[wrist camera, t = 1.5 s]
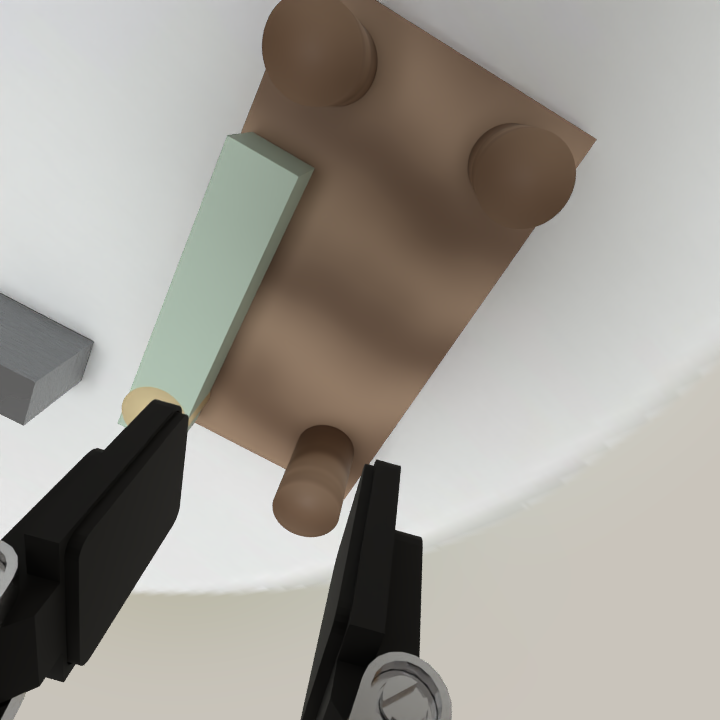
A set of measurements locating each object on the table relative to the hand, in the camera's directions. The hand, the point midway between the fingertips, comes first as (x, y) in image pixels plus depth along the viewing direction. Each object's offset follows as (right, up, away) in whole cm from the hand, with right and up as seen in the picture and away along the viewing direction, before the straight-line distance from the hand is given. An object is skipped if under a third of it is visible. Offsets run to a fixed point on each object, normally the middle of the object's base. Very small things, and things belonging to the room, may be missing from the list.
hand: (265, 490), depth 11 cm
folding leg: (-5, +6, +15) cm, 17 cm away
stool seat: (+1, +7, +16) cm, 17 cm away
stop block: (-17, +4, +20) cm, 26 cm away
